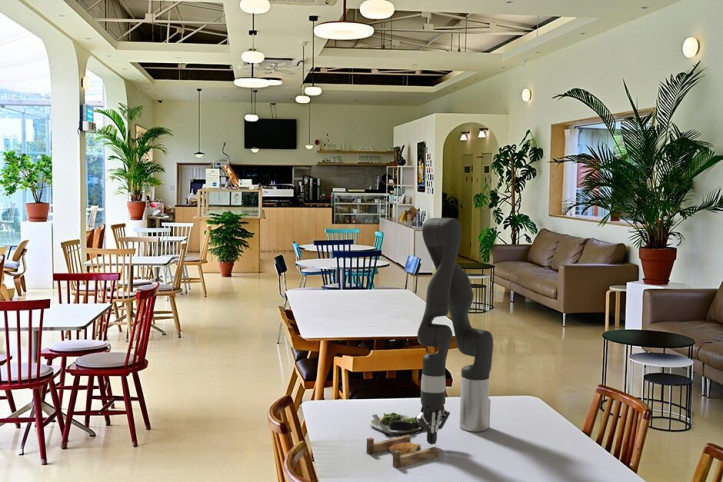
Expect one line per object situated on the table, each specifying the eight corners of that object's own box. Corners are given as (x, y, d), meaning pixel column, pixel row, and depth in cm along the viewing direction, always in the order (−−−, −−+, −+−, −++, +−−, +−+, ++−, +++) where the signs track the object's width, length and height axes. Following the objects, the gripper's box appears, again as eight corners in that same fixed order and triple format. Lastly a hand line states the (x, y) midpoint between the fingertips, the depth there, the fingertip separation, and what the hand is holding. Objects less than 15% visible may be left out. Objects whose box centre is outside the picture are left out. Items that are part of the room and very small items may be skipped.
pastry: (386, 456, 224) (386, 443, 224) (393, 448, 231) (393, 436, 230) (416, 460, 221) (416, 448, 221) (422, 453, 227) (423, 441, 227)
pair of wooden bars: (407, 442, 235) (407, 428, 235) (437, 456, 224) (438, 441, 224) (366, 452, 226) (366, 438, 226) (396, 467, 215) (396, 452, 214)
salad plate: (354, 424, 253) (355, 411, 253) (394, 415, 264) (394, 402, 264) (393, 440, 238) (393, 426, 238) (433, 429, 249) (433, 416, 249)
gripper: (440, 382, 238) (439, 436, 239) (408, 388, 230) (407, 444, 231) (457, 388, 232) (455, 443, 233) (425, 394, 224) (423, 451, 225)
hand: (431, 443), depth 232 cm, fingers closed
